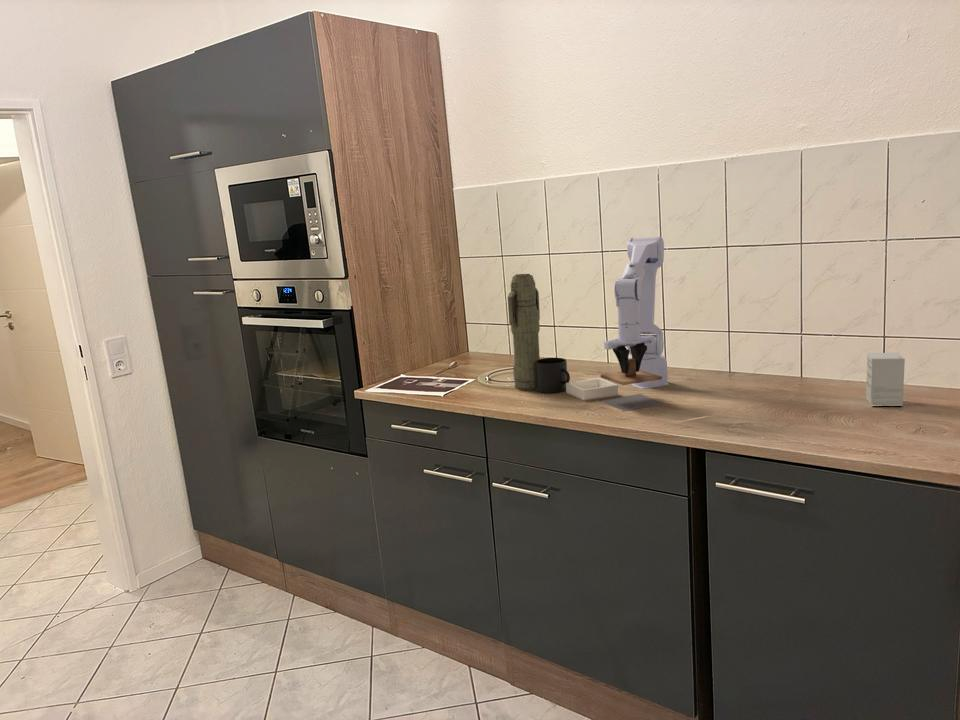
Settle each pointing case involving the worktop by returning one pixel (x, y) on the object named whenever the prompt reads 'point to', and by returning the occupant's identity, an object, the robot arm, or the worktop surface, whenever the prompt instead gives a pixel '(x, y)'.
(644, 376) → the lid
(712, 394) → the worktop surface
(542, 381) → the mug
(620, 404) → the mat
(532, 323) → the thermos
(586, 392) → the dish
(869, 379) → the supplement box
